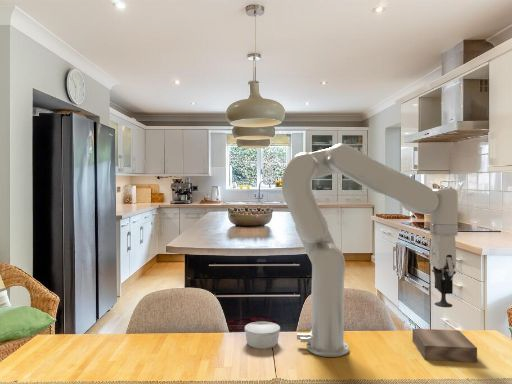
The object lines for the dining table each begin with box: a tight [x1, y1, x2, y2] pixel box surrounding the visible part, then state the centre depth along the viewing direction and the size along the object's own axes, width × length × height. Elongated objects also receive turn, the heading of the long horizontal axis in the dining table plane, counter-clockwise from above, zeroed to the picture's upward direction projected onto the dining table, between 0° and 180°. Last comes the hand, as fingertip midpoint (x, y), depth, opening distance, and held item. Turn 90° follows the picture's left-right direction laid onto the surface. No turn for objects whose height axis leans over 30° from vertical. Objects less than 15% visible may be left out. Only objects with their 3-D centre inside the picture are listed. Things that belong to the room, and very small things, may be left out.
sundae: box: [431, 266, 457, 308], centre depth 122 cm, size 7×7×15 cm
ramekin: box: [244, 321, 281, 350], centre depth 129 cm, size 11×11×5 cm
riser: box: [411, 328, 478, 363], centre depth 123 cm, size 14×14×4 cm
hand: (443, 290), depth 123 cm, fingers closed on sundae, 4 cm apart
